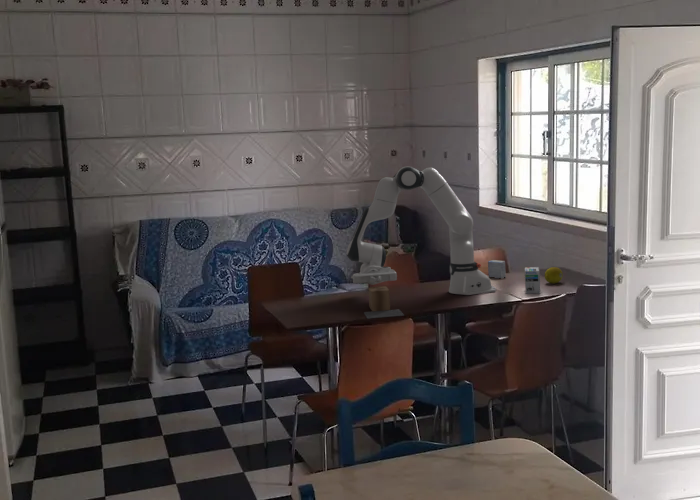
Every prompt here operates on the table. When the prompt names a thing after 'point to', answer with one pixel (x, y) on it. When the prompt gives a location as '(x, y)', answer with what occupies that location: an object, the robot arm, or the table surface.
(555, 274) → the lemon
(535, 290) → the light bulb box
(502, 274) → the medicine box
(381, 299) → the letter block
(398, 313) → the charcoal mat
